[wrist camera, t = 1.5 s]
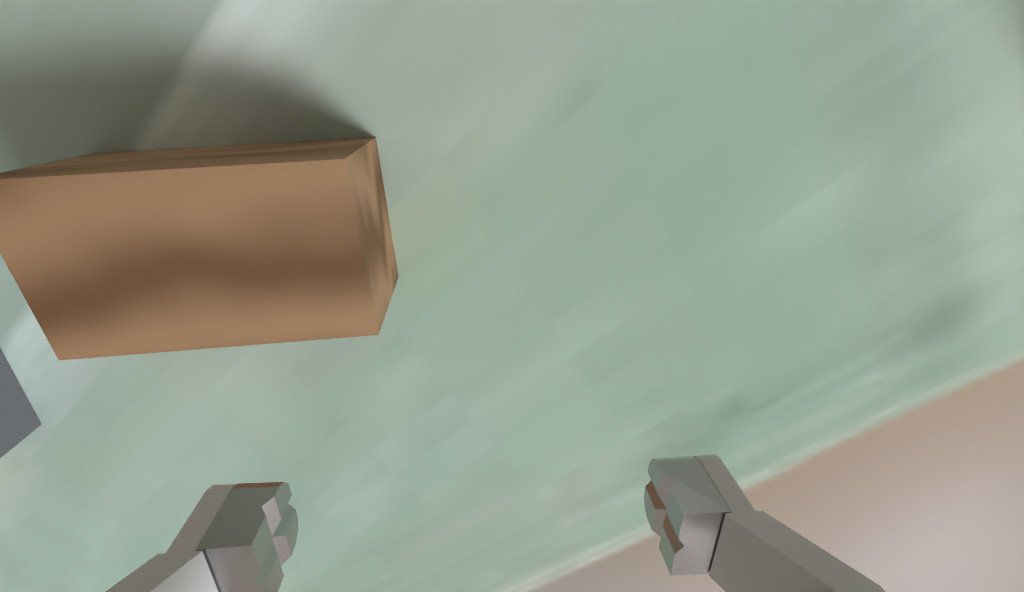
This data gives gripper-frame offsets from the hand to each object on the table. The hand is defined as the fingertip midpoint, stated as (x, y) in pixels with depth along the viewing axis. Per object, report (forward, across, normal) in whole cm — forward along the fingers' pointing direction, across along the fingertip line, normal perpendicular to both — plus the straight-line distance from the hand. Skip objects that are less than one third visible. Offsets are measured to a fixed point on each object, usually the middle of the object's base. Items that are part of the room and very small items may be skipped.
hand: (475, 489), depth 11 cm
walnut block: (+22, +13, 0) cm, 26 cm away
